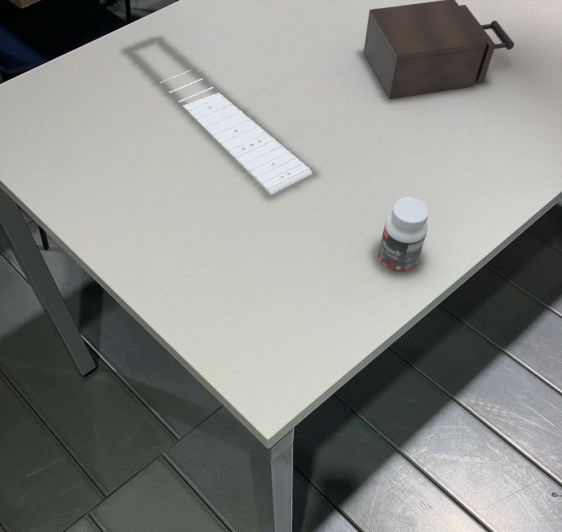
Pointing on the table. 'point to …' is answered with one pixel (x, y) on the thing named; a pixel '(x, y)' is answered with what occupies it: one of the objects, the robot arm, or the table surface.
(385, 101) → the table surface
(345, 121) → the table surface
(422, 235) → the pill bottle
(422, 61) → the cabinet
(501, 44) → the drawer
